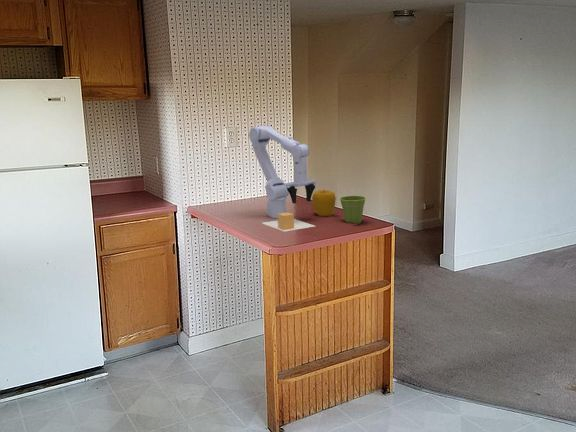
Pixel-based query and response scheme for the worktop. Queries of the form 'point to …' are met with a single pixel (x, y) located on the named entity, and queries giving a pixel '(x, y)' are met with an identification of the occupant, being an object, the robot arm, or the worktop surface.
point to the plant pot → (353, 208)
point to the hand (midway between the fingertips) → (301, 202)
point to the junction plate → (297, 225)
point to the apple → (324, 202)
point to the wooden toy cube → (285, 221)
